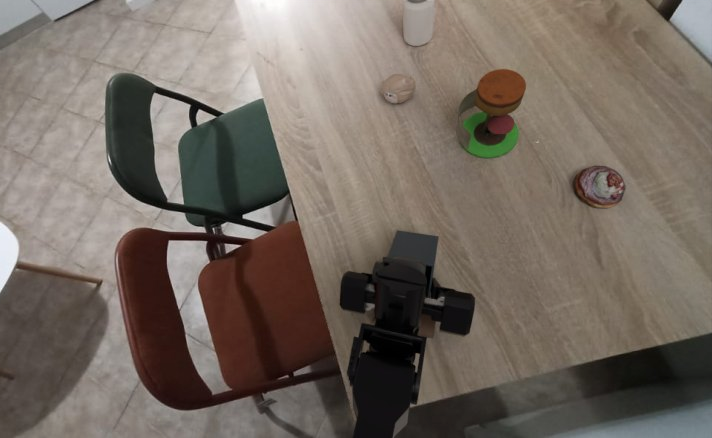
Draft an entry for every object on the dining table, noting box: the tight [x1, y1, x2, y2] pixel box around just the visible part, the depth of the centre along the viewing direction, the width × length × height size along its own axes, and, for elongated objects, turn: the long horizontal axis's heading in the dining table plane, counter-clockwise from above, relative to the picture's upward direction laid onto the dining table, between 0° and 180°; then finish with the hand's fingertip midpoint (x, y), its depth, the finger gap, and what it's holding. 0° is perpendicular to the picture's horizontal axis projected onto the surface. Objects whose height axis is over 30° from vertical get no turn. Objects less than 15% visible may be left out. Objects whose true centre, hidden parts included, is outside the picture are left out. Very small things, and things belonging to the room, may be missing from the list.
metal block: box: [372, 314, 437, 339], centre depth 76 cm, size 6×10×4 cm, turn 74°
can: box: [402, 0, 436, 47], centre depth 96 cm, size 6×6×12 cm
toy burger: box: [455, 68, 527, 159], centre depth 80 cm, size 12×13×15 cm
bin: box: [387, 229, 440, 298], centre depth 74 cm, size 14×7×14 cm, turn 164°
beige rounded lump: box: [380, 73, 416, 104], centre depth 93 cm, size 7×6×8 cm
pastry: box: [573, 165, 626, 209], centre depth 75 cm, size 8×8×5 cm
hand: (409, 275), depth 72 cm, fingers closed on bin, 7 cm apart
